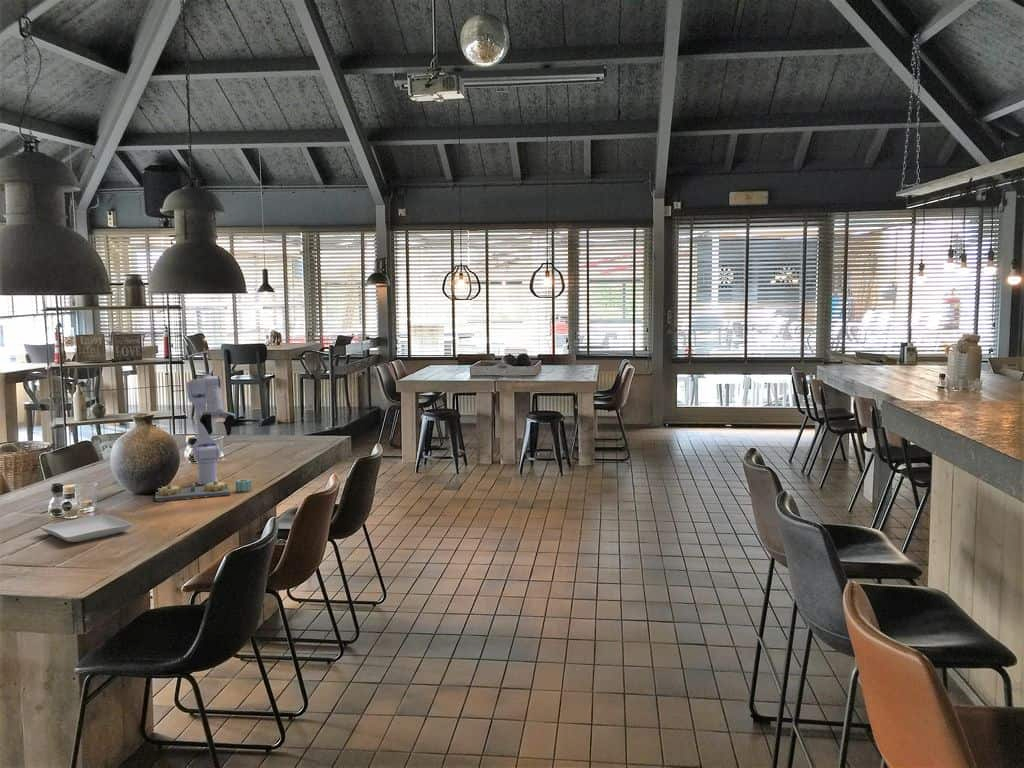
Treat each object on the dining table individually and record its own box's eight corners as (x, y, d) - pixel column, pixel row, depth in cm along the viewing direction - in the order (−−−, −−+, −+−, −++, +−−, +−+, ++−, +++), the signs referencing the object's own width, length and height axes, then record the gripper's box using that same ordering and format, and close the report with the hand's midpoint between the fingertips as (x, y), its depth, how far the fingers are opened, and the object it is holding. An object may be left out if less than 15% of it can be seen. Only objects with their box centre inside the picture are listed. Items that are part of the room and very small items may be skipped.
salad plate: (105, 522, 279) (104, 512, 279) (134, 533, 266) (134, 522, 266) (39, 535, 263) (38, 525, 263) (66, 548, 250) (66, 537, 249)
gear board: (156, 493, 319) (155, 481, 318) (228, 487, 329) (227, 475, 328) (155, 501, 306) (154, 489, 305) (230, 495, 316) (229, 482, 316)
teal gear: (235, 489, 326) (235, 479, 326) (250, 488, 328) (250, 478, 328) (236, 492, 321) (236, 482, 320) (251, 491, 323) (251, 481, 323)
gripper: (201, 397, 310) (206, 428, 305) (236, 400, 320) (242, 430, 315) (193, 405, 314) (198, 436, 309) (228, 408, 324) (233, 438, 319)
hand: (219, 434), depth 312 cm, fingers open, 7 cm apart
